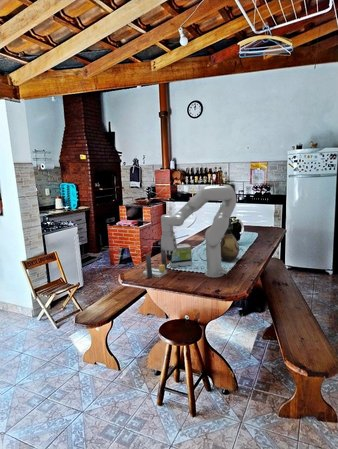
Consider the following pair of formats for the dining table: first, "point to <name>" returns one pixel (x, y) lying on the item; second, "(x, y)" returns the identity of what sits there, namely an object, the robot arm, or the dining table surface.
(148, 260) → the post left
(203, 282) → the dining table surface
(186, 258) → the tea box
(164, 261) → the post right
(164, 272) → the panel
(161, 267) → the toggle amber
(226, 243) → the ceramic jug
